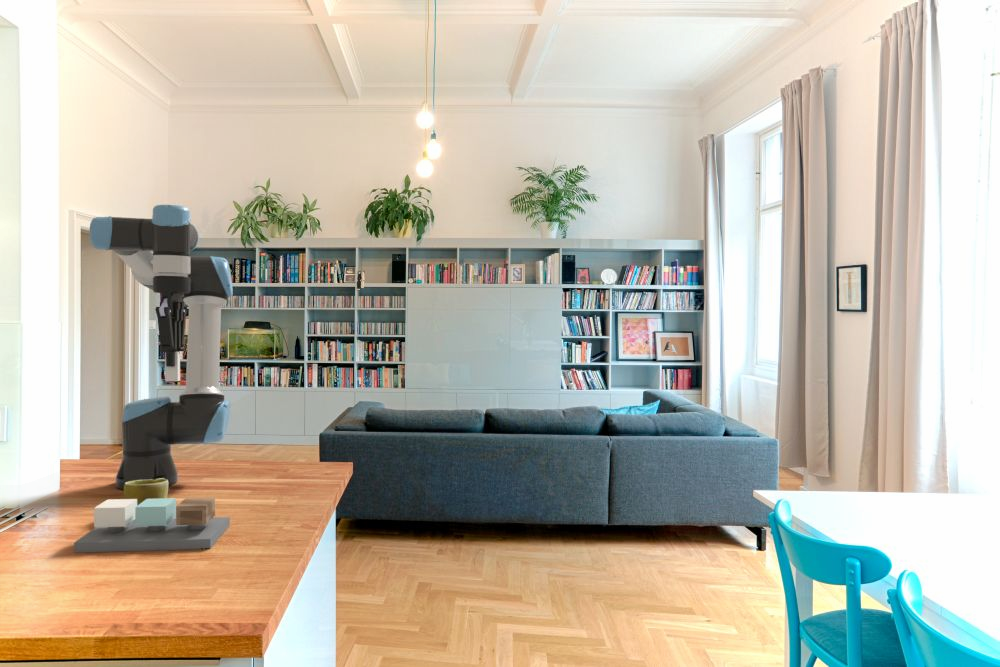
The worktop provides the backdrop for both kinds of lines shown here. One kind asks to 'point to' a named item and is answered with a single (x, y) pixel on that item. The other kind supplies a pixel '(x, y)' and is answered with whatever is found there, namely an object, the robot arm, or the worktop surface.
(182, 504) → the walnut key
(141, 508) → the teal key
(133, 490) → the mug
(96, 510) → the ivory key
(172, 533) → the console
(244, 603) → the worktop surface
